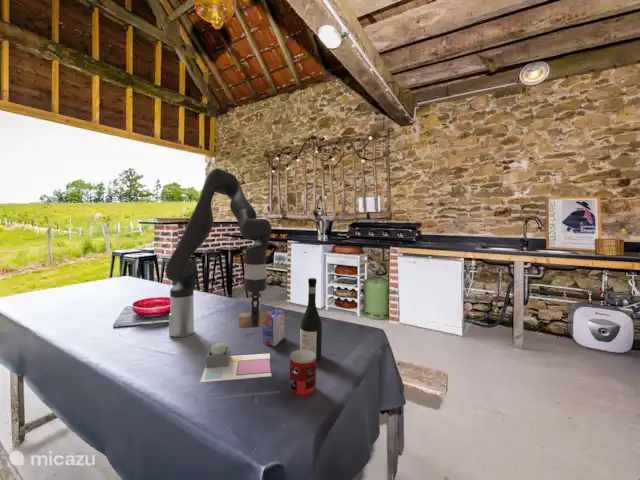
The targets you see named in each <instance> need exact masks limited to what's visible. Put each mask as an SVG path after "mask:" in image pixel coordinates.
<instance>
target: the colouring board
mask: <svg viewBox="0 0 640 480" xmlns="http://www.w3.org/2000/svg"><path fill="white" fill-rule="evenodd" d="M271 363H272V362H271V353H257V354H244V355H242V354H241V355H230V360H229V365H228V367H215V368H206V365H205V366H204V370H203V372H202V375H201V378H200V381H199V383H206V382H207V383H208V382H210V383H211V382H219V381H220V382H221V381H229V380H230V381H232V380H242V379H243V380H244V379H254V378H255V379H256V378H265V377H267V378H269V377H272V364H271Z"/></svg>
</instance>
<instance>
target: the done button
mask: <svg viewBox="0 0 640 480" xmlns="http://www.w3.org/2000/svg"><path fill="white" fill-rule="evenodd" d="M226 346H227V344H226V343H225V342H215V343H212V344H211V345H210V347H211V355H225V354H226Z"/></svg>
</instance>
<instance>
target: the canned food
mask: <svg viewBox="0 0 640 480" xmlns="http://www.w3.org/2000/svg"><path fill="white" fill-rule="evenodd" d="M316 379H317V360H316V354H315V353H314V352H312V351H309V350H300V349H297V350H293V351H292V352H291V353H290V355H289V390H290V393H291V394H292V395H294V396H296V395H297V397H301V396H304V397H309V396H311V395H312V394H313V393H315V390H316V385H317V384H316ZM308 395H309V396H308Z"/></svg>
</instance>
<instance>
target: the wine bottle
mask: <svg viewBox="0 0 640 480" xmlns="http://www.w3.org/2000/svg"><path fill="white" fill-rule="evenodd" d="M307 283H308V294H307V295H308V296H307V297H308V301H307V305H306V306H307V307H306V310H305V312H304V314H303V316H302V319H301V322H300V327H299V328H300V332H299V333H300V334H299V335H300V336H299V350H309V351H312V352H314V353H315V354H316V361H318V360H320V358H321V357H322V344H323V343H322V339H323V335H322V334H323V326H322V325H323V324H322V321H321V317H320V315H319V311H318V308H317V304H316V299H317V297H316V293H317V291H316V289H317V279H316V278H314V277H309V278H308V279H307Z"/></svg>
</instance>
